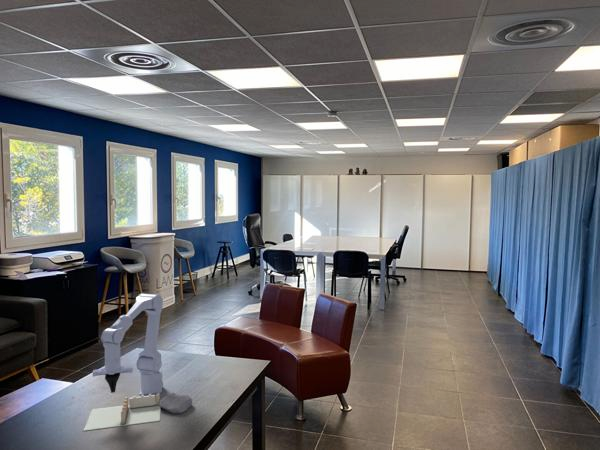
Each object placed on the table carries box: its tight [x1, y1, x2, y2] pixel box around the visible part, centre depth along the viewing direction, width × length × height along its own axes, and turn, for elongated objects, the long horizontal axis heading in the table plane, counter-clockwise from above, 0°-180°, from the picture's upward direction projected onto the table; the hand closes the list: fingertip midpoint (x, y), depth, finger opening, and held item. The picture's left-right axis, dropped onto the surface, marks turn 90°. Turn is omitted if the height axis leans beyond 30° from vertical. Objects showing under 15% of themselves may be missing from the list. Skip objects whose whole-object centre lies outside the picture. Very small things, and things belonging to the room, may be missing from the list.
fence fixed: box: [124, 393, 161, 408], centre depth 176 cm, size 14×1×5 cm, turn 106°
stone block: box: [159, 392, 193, 414], centre depth 176 cm, size 12×5×10 cm
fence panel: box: [121, 399, 128, 424], centre depth 168 cm, size 12×1×5 cm, turn 17°
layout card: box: [83, 401, 162, 432], centre depth 170 cm, size 27×17×1 cm, turn 106°
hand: (113, 391), depth 170 cm, fingers closed
